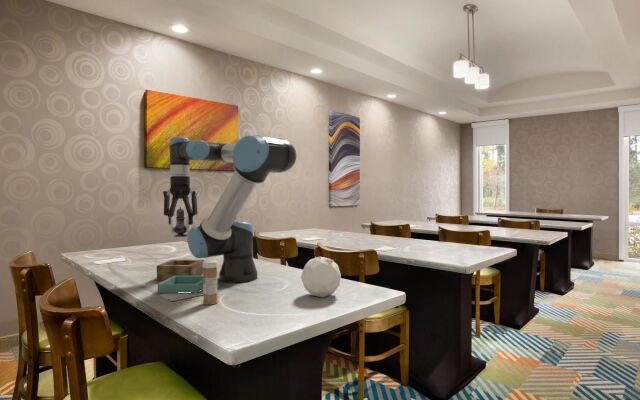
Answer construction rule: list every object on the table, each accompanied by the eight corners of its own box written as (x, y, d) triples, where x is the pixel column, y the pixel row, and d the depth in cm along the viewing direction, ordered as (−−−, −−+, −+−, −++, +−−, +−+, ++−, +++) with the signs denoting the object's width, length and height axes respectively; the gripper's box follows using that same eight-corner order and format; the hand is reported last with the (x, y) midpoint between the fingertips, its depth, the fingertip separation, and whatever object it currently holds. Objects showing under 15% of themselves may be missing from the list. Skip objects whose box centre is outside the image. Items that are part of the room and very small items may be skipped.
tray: (210, 284, 154) (210, 275, 154) (197, 293, 140) (196, 284, 140) (174, 283, 155) (174, 275, 155) (157, 293, 141) (157, 284, 141)
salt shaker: (183, 237, 162) (183, 207, 161) (170, 236, 163) (169, 207, 163) (191, 235, 168) (190, 206, 167) (178, 235, 169) (177, 206, 168)
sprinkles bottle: (204, 301, 131) (203, 259, 130) (218, 301, 131) (218, 259, 131) (201, 305, 126) (201, 262, 126) (216, 305, 126) (216, 262, 126)
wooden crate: (204, 273, 173) (204, 259, 173) (191, 281, 159) (191, 266, 159) (172, 273, 174) (172, 259, 173) (156, 281, 160) (156, 265, 160)
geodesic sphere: (356, 276, 140) (333, 244, 142) (343, 285, 127) (319, 249, 130) (325, 298, 144) (304, 266, 147) (310, 309, 131) (287, 274, 134)
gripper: (205, 175, 168) (206, 231, 169) (161, 176, 169) (162, 231, 170) (199, 175, 161) (200, 233, 161) (153, 175, 162) (154, 233, 162)
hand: (181, 232), depth 166 cm, fingers closed on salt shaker, 6 cm apart
